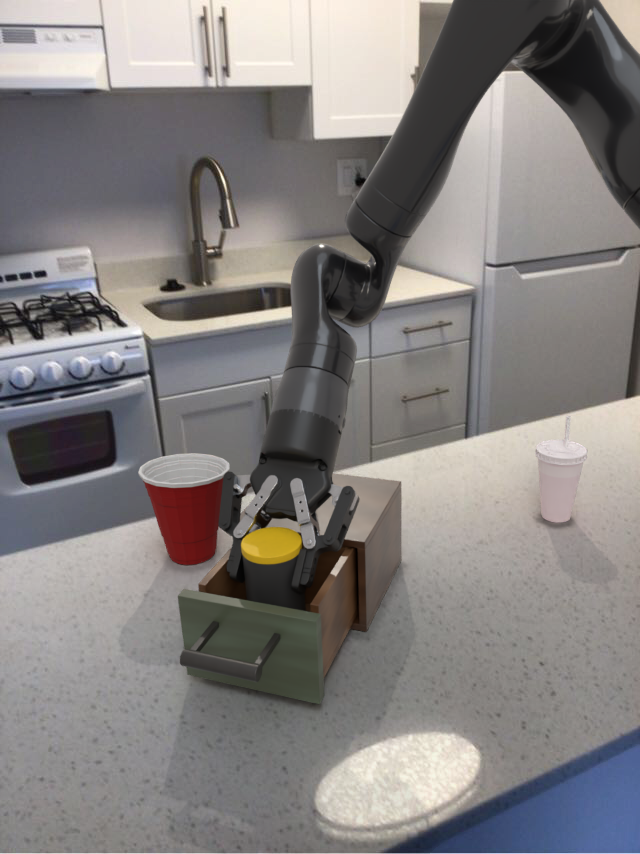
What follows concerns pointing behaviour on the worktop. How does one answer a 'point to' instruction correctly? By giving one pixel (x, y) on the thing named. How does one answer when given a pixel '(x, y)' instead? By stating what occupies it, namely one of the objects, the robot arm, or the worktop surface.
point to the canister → (272, 566)
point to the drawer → (269, 630)
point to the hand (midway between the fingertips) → (266, 585)
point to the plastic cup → (186, 502)
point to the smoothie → (559, 475)
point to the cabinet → (366, 538)
